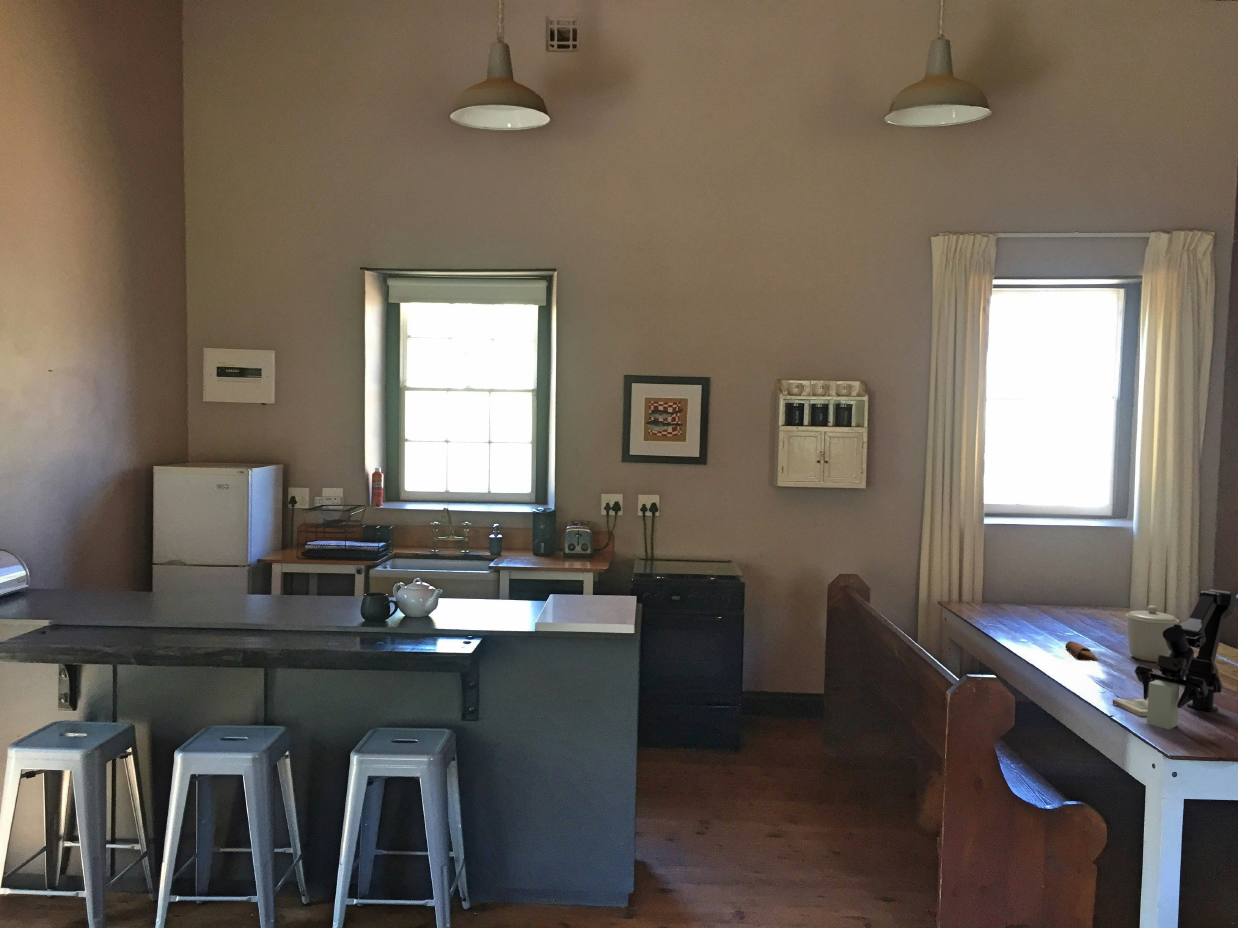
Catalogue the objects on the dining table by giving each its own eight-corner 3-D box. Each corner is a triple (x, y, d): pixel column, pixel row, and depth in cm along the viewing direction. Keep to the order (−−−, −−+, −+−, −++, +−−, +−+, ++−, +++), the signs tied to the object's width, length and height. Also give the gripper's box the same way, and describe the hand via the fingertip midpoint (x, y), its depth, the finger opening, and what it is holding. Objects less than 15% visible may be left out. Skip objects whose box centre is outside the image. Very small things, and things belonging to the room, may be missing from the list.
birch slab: (1145, 704, 288) (1145, 698, 288) (1174, 716, 277) (1174, 710, 276) (1112, 705, 286) (1112, 699, 286) (1139, 717, 275) (1140, 710, 275)
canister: (1184, 666, 337) (1188, 611, 336) (1132, 662, 341) (1135, 608, 340) (1165, 655, 355) (1168, 602, 354) (1116, 651, 358) (1119, 599, 358)
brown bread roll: (1101, 661, 342) (1092, 645, 342) (1083, 669, 343) (1074, 653, 344) (1087, 650, 359) (1078, 635, 360) (1070, 657, 361) (1062, 643, 361)
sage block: (1155, 720, 271) (1157, 679, 271) (1177, 725, 266) (1179, 684, 266) (1146, 723, 268) (1149, 682, 267) (1168, 729, 263) (1170, 687, 262)
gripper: (1138, 639, 276) (1120, 679, 270) (1206, 652, 261) (1189, 695, 255) (1148, 660, 281) (1131, 700, 275) (1215, 674, 266) (1198, 717, 260)
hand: (1161, 703), depth 266 cm, fingers open, 9 cm apart
